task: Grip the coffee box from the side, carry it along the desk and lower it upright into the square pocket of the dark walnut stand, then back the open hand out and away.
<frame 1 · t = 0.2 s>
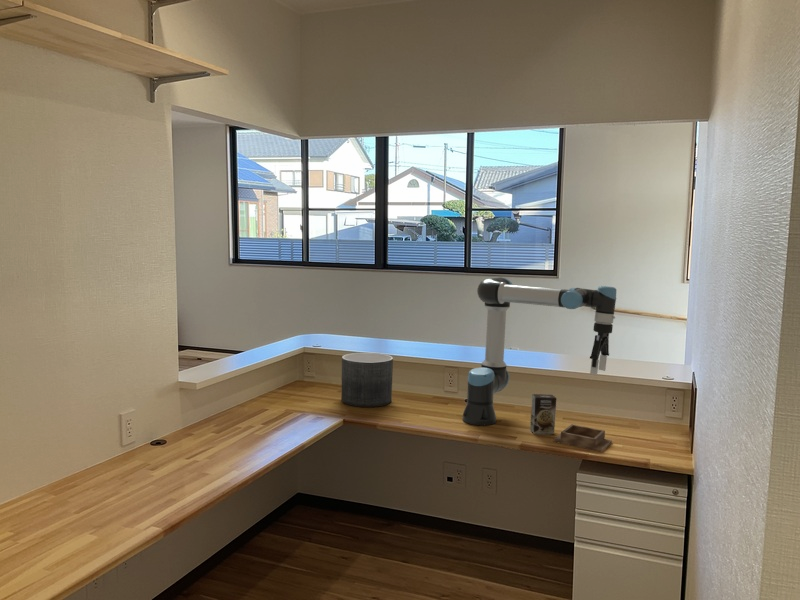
hand: (597, 372, 257), 27 cm above the table, tool pointing down, fingers open, 13 cm apart
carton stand: (582, 442, 249), on the table
planter: (366, 401, 303), on the table
coffee box: (542, 432, 260), on the table
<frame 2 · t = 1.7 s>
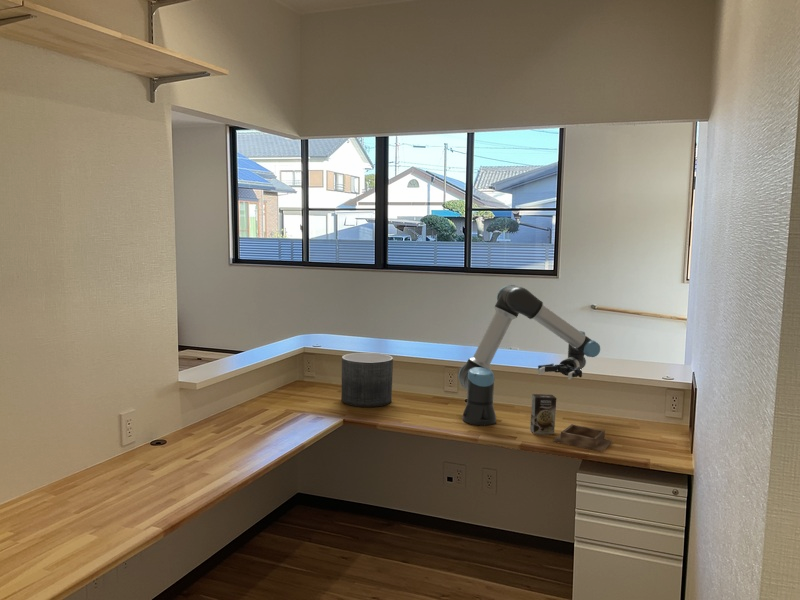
hand: (553, 374, 267), 24 cm above the table, tool horizontal, fingers open, 13 cm apart
nothing on the table moved.
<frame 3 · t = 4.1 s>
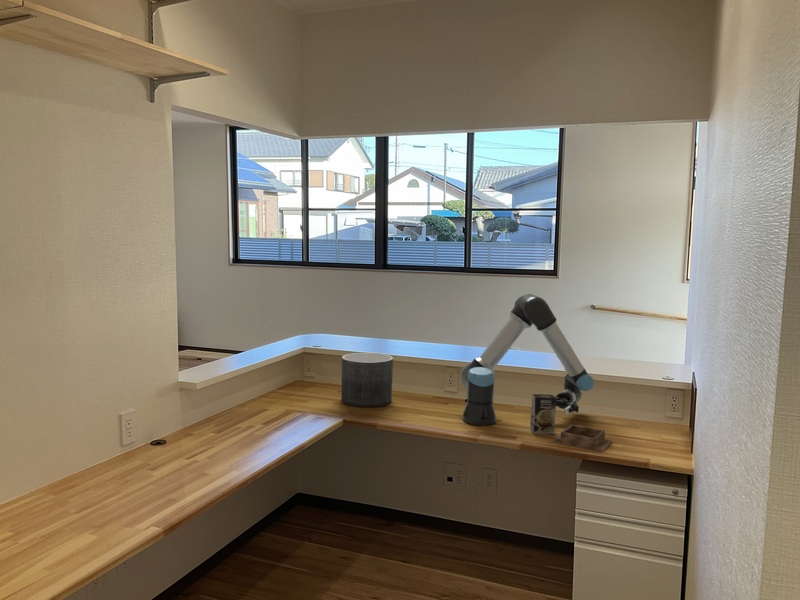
hand: (550, 409, 264), 9 cm above the table, tool horizontal, fingers open, 13 cm apart
nothing on the table moved.
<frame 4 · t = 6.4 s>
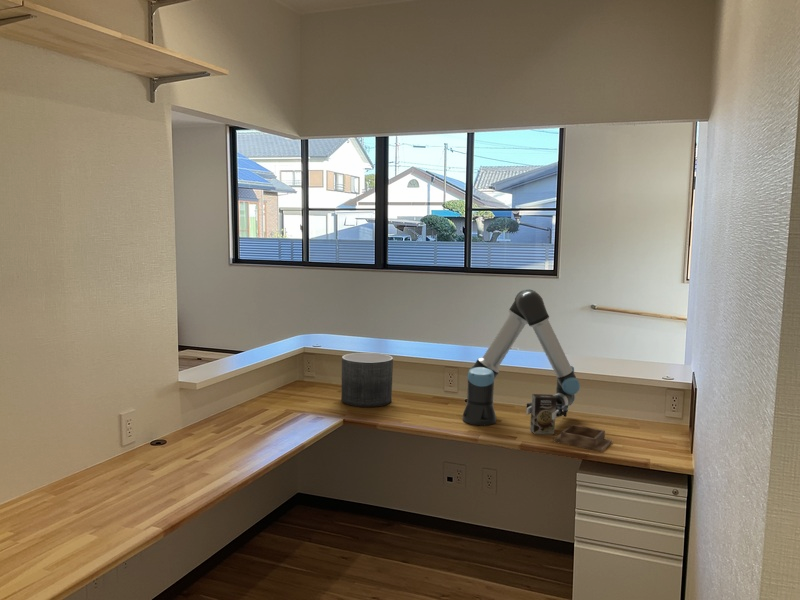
hand: (539, 413, 256), 9 cm above the table, tool horizontal, fingers closed on coffee box, 11 cm apart
coffee box: (542, 432, 260), on the table, touching gripper
everything else where it was.
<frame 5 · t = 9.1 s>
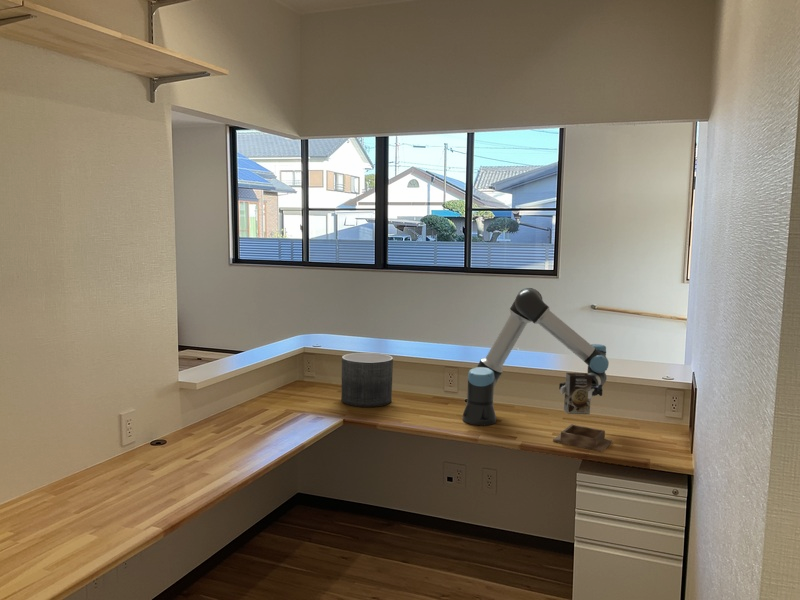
hand: (574, 393, 246), 21 cm above the table, tool horizontal, fingers closed on coffee box, 11 cm apart
coffee box: (576, 412, 251), point 11 cm above the table, touching gripper
everything else where it was.
when the fingers open (11 cm above the table, at t = 12.0 s): coffee box drops 1 cm, resting on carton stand.
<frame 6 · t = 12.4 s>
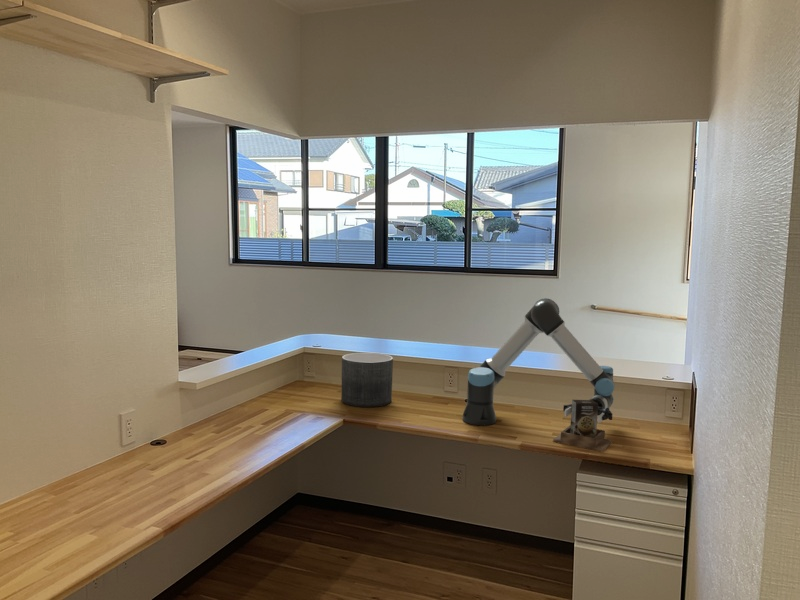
hand: (581, 416, 245), 11 cm above the table, tool horizontal, fingers open, 13 cm apart
coffee box: (582, 440, 249), point 1 cm above the table, touching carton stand
everything else where it was.
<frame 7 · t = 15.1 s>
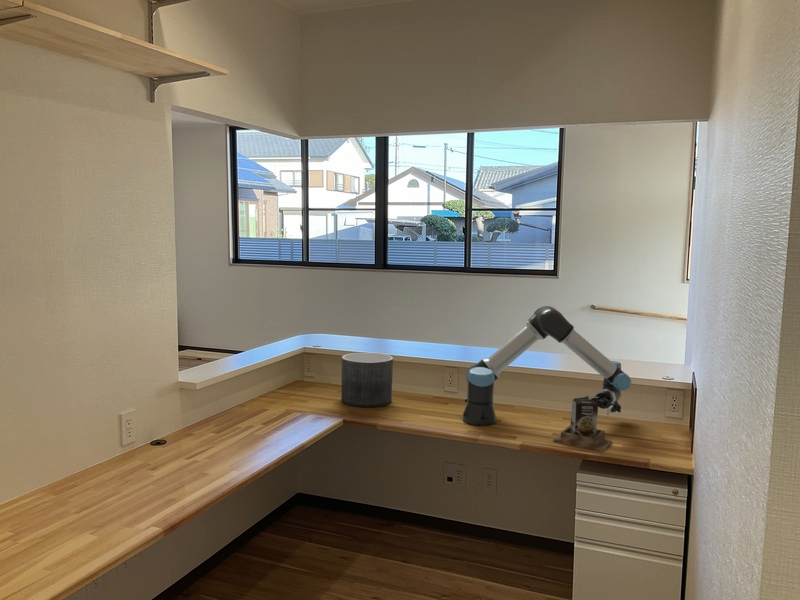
hand: (591, 409, 257), 12 cm above the table, tool horizontal, fingers open, 13 cm apart
nothing on the table moved.
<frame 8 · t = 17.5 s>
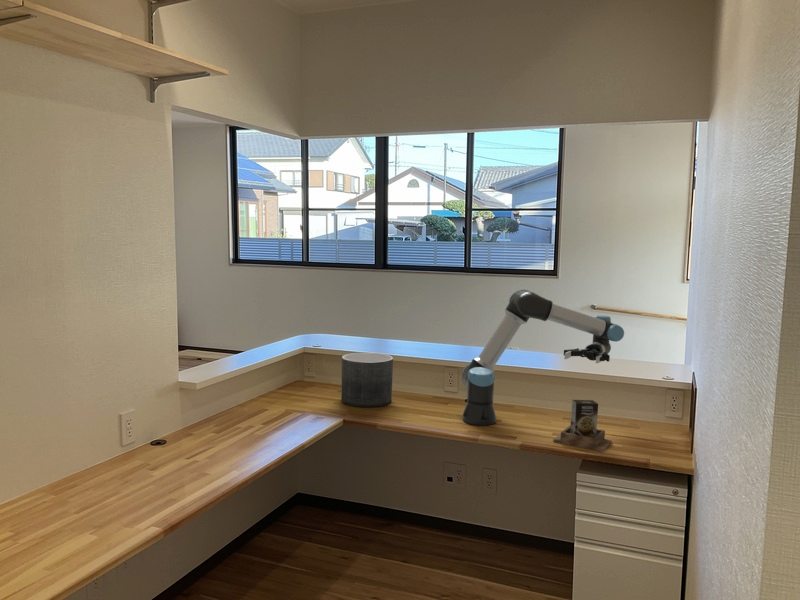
hand: (580, 358, 262), 32 cm above the table, tool horizontal, fingers open, 13 cm apart
nothing on the table moved.
at the end: coffee box 0.1 cm off-centre on the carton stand, point 0.8 cm above the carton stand's base; coffee box tilted 0°; the gripper is holding nothing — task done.
